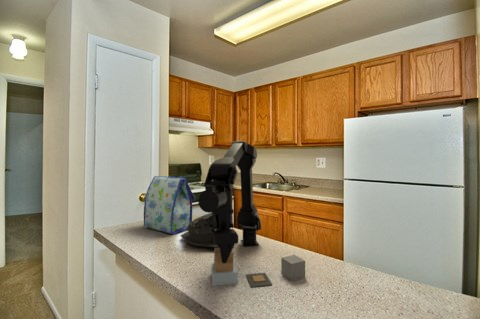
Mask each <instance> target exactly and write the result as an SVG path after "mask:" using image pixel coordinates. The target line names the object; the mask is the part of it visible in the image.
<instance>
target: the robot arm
mask: <svg viewBox="0 0 480 319" xmlns="http://www.w3.org/2000/svg"><path fill="white" fill-rule="evenodd" d="M257 158H258V152H257V149H256V147H255V145H251V144H250V143H248V141H245V140H234V141H232V142H231V145H230V147H229V149H228V150H227V151H226V153H225V154H224V156H223V157H221V158H219V159H216V160H214V161H213V162H212V163H211V164H210V166H209V168H208V170H207V174H206V177H205V181H204V183H203V186H204V187H205V190H203V191H202V192H201V193H200V194H199V196H198V199H197V203H198V206H199V208H200V210H202V211H203V212H205V213H206V214H204V215H202V216H198V217H196V218H194V219H192V221H193V224H194V226H195V229H196V232H197V233H201V232H202V231H204V230H206V229H209V228H213V229H211V230H212V232H213V233H214V244H215V245H218V246H219V247H218V248H220V253H221V259H222V263H226V262H227V260H228V258H229V255H230V253H231V251H232V252H233V248H234V247H235V245H237V244H239V235H238V233H237V231H235V229H234V227H235V226H234V225H235V224H234V222H233V215H234V213H235V210H234V208H233V207H234V206H233V204H234V203H233V188H234V185H235V184H236V183H235V182H236V180H237V176H238V170H237V167H238V169H239V171H240V172H239V173H240V190H241V207H240V208H239V210H238V211H237V215H236V216H237V218H236V221H237V229H238V230H242V239H240V243H241V244H242V246H243V247H252V246H259V245H260V243H259V242H258V240H257V232H258V231H260V230H262V224H261V223H262V222H261V218H260V215H259V214H258V209H257V207H256V206H255V205H254V190H253V168H254V166H255V164H256V162H257Z"/></svg>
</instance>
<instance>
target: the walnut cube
mask: <svg viewBox="0 0 480 319" xmlns="http://www.w3.org/2000/svg"><path fill="white" fill-rule="evenodd" d="M213 248H214V253H213V254H214V255H213V258H214V260H213V261H214V262H213V263H214V266H215V271H216V272H226V271H233V262H234V251H233V250H232V251H231V253H230V255H229V258H228V260H227V262H226V263H222V259H221V253H220V248H219V247H213Z"/></svg>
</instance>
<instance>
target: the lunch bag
mask: <svg viewBox="0 0 480 319" xmlns="http://www.w3.org/2000/svg"><path fill="white" fill-rule="evenodd" d="M195 199H196V197H195V195H194V193H193V192H192V190H191V187H190V185H189V181H188V179H187V178H186V177H182V176H162V175H154V176H153V178H152V180H151V181H150V183H149V185H148V188H147V191H146V193H145V199H144V206H143V227H145V228H148V229H152V230H156V231H160V232H163V233H167V234H171V235H174V234H177V233H180V232H181V231H188V230H187V227H188V226H189V223H190V222H191V221H193V201H195Z"/></svg>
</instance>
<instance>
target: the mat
mask: <svg viewBox="0 0 480 319" xmlns="http://www.w3.org/2000/svg"><path fill="white" fill-rule="evenodd" d="M245 276H246V279H247V281H248V283H249V286H250V288H258V287H259V288H260V287H269V286H270V287H271V286H273V283H272V281H271V280H270V279H269V277H268V275H267V273H266V272H258V273H246V274H245Z"/></svg>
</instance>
